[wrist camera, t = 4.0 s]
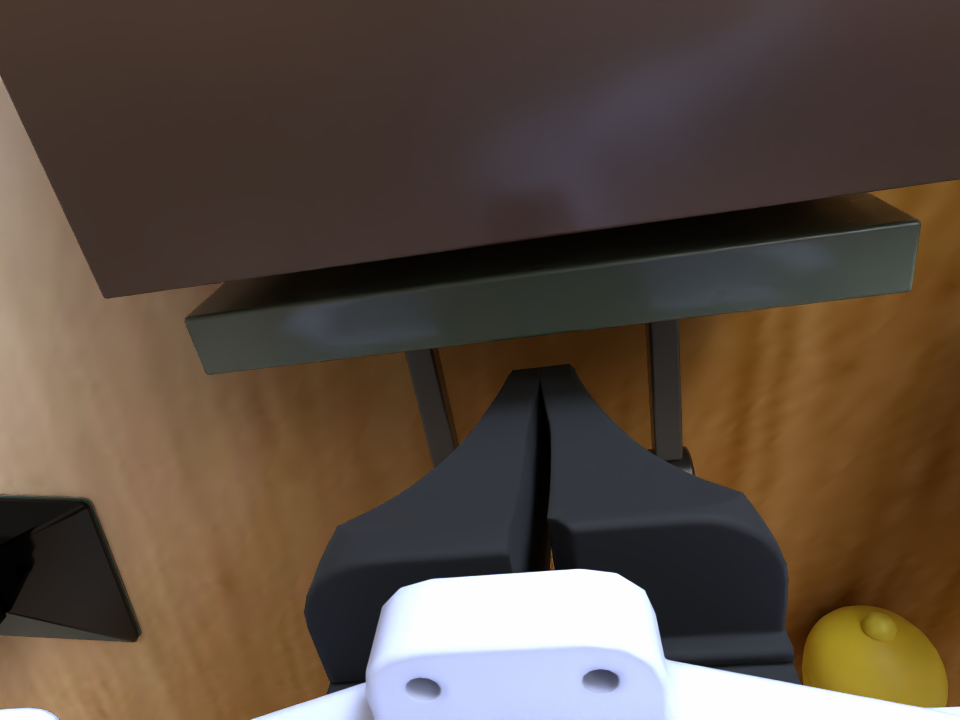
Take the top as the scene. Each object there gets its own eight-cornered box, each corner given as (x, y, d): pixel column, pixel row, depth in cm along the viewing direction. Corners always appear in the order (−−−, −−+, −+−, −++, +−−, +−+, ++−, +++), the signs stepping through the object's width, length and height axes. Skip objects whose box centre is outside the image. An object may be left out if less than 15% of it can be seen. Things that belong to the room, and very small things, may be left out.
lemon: (789, 572, 22) (838, 679, 18) (917, 564, 21) (993, 672, 18) (782, 680, 24) (823, 793, 21) (896, 675, 24) (959, 790, 20)
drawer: (779, 405, 18) (874, 557, 13) (355, 447, 20) (295, 595, 15) (842, -843, 9) (1247, -1966, 4) (43, -564, 11) (-398, -1082, 6)
